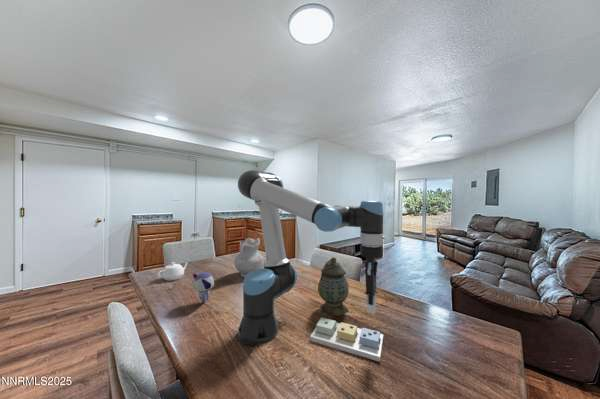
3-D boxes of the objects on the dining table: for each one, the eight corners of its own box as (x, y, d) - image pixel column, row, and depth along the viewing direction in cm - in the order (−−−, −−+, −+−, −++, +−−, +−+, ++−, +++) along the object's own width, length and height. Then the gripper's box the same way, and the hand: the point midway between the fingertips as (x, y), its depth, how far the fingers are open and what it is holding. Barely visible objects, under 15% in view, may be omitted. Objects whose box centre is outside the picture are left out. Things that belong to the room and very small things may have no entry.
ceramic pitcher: (258, 283, 140) (262, 243, 140) (227, 280, 140) (231, 240, 140) (264, 271, 162) (267, 237, 162) (237, 269, 162) (240, 234, 162)
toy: (218, 303, 111) (218, 272, 111) (198, 310, 104) (198, 277, 103) (208, 296, 118) (208, 267, 118) (189, 302, 111) (189, 272, 111)
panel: (309, 343, 81) (310, 336, 81) (321, 324, 93) (321, 318, 93) (379, 364, 71) (380, 356, 71) (383, 341, 83) (383, 334, 83)
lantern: (346, 321, 96) (347, 263, 96) (314, 315, 101) (315, 259, 100) (350, 306, 109) (351, 255, 109) (322, 301, 114) (323, 252, 114)
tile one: (316, 331, 84) (316, 324, 84) (321, 323, 89) (321, 316, 89) (331, 335, 81) (331, 328, 81) (336, 327, 87) (336, 320, 87)
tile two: (336, 337, 81) (337, 330, 81) (341, 328, 86) (341, 321, 86) (353, 342, 78) (353, 334, 78) (356, 332, 84) (357, 325, 83)
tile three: (359, 343, 77) (359, 336, 77) (362, 334, 83) (362, 327, 83) (377, 348, 75) (378, 340, 75) (379, 338, 80) (379, 331, 80)
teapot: (182, 271, 155) (182, 257, 155) (194, 275, 149) (194, 260, 149) (152, 281, 138) (152, 264, 138) (163, 285, 132) (163, 268, 132)
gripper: (381, 249, 71) (380, 324, 71) (384, 242, 83) (383, 306, 83) (357, 247, 74) (356, 318, 74) (363, 240, 86) (363, 302, 86)
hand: (371, 312), depth 78 cm, fingers closed
